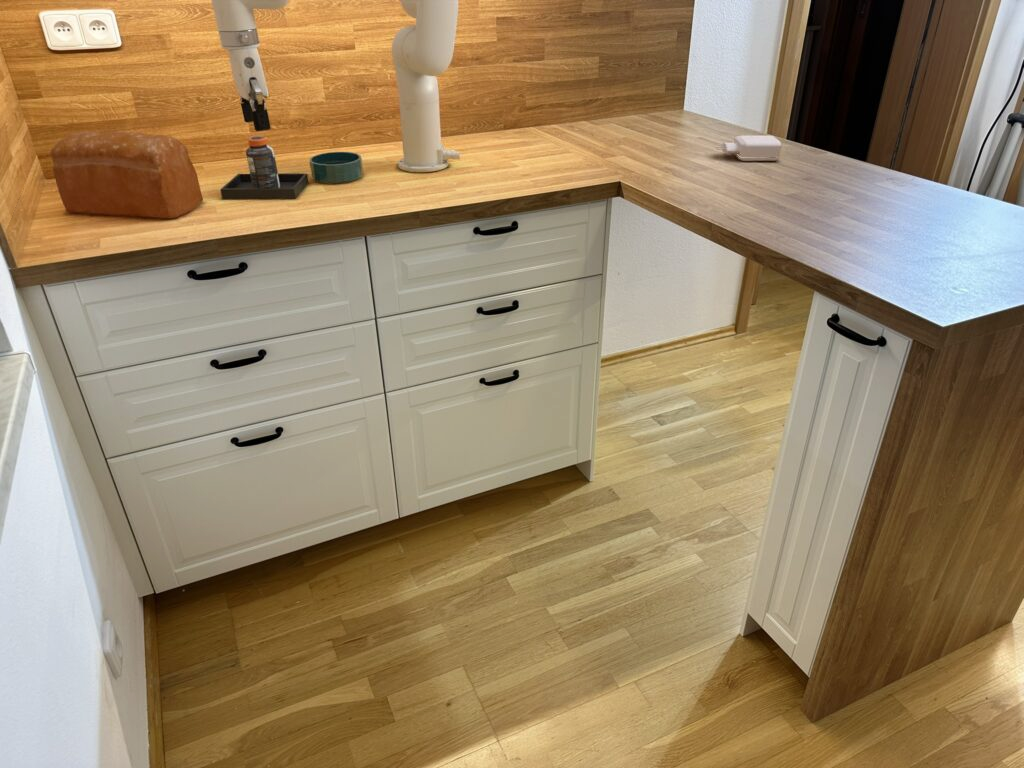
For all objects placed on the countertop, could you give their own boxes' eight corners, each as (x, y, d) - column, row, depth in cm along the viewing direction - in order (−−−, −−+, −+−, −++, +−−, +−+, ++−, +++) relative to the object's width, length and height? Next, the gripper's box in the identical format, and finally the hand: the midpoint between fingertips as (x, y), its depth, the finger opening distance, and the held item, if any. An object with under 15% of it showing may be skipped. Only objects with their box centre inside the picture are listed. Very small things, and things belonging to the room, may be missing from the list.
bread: (102, 195, 164) (79, 122, 155) (209, 201, 160) (192, 127, 151) (59, 215, 152) (32, 137, 144) (173, 222, 148) (153, 143, 140)
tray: (308, 182, 171) (307, 173, 170) (295, 198, 161) (294, 189, 160) (239, 182, 171) (237, 173, 170) (222, 199, 161) (220, 189, 160)
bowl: (367, 170, 180) (365, 151, 177) (358, 184, 170) (356, 165, 167) (318, 170, 180) (315, 151, 177) (306, 184, 170) (303, 165, 167)
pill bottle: (284, 185, 168) (275, 134, 162) (274, 193, 163) (265, 141, 157) (259, 184, 168) (249, 134, 162) (248, 192, 163) (238, 140, 157)
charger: (710, 152, 192) (768, 152, 192) (718, 162, 184) (778, 162, 184) (713, 134, 190) (771, 134, 190) (721, 143, 182) (782, 143, 182)
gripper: (268, 42, 145) (285, 131, 154) (248, 33, 157) (265, 115, 167) (229, 46, 142) (249, 136, 151) (212, 36, 154) (231, 120, 164)
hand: (257, 125), depth 159 cm, fingers open, 9 cm apart
